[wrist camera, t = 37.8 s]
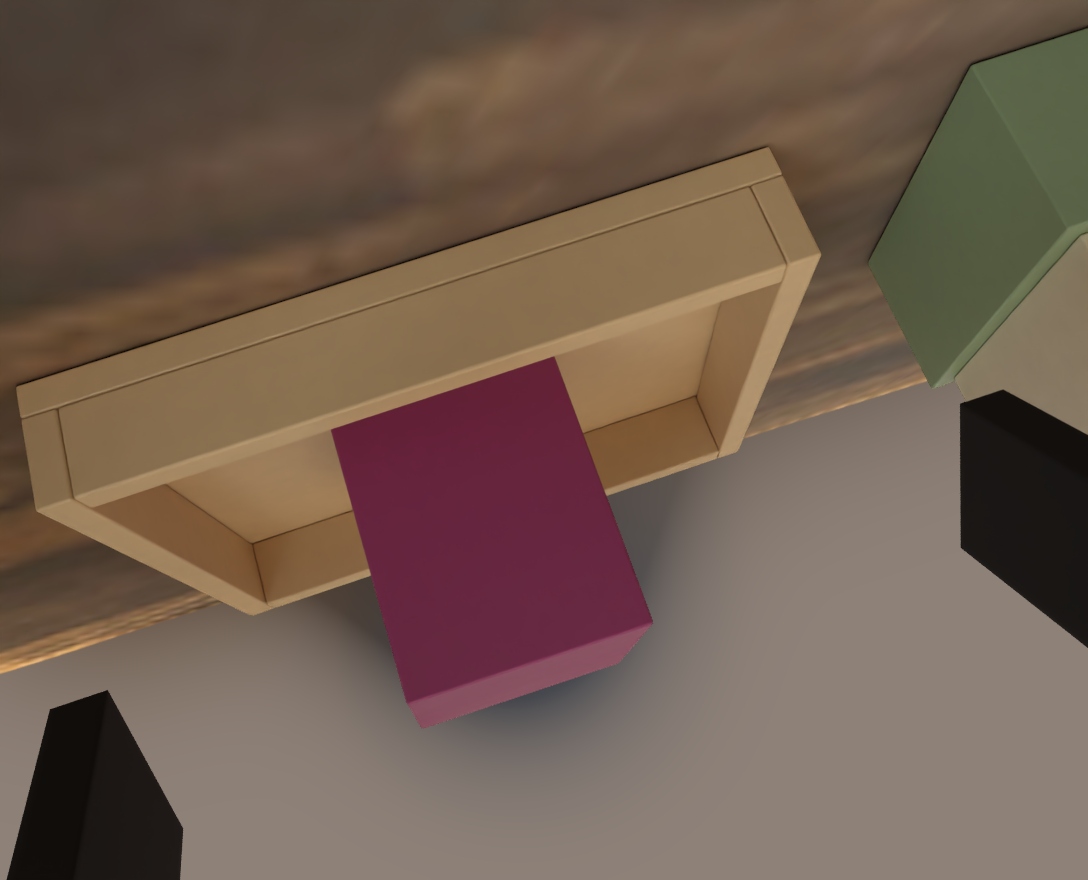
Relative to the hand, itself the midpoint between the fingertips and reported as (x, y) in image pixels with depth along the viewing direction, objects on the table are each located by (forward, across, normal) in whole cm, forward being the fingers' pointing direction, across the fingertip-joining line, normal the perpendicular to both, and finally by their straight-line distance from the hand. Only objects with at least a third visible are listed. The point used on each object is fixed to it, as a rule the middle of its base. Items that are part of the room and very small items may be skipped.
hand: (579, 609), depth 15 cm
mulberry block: (+14, 0, -3) cm, 14 cm away
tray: (+15, 0, -2) cm, 15 cm away
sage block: (+11, +18, +1) cm, 21 cm away
